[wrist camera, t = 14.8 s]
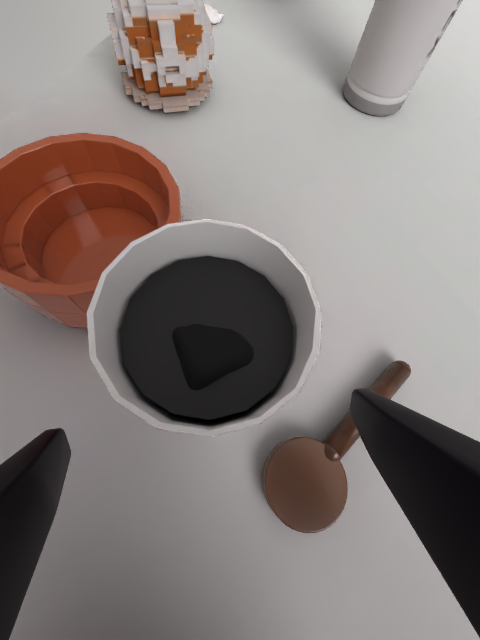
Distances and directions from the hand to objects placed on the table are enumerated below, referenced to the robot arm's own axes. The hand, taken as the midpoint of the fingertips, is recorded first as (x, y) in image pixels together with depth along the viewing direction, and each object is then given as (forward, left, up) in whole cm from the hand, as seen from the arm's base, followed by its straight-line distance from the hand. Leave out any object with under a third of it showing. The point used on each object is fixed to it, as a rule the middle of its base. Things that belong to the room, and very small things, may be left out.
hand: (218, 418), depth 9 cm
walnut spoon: (0, -8, -8) cm, 11 cm away
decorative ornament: (+29, +6, -8) cm, 31 cm away
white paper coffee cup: (+3, 0, -8) cm, 9 cm away
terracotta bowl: (+11, +8, -8) cm, 16 cm away
